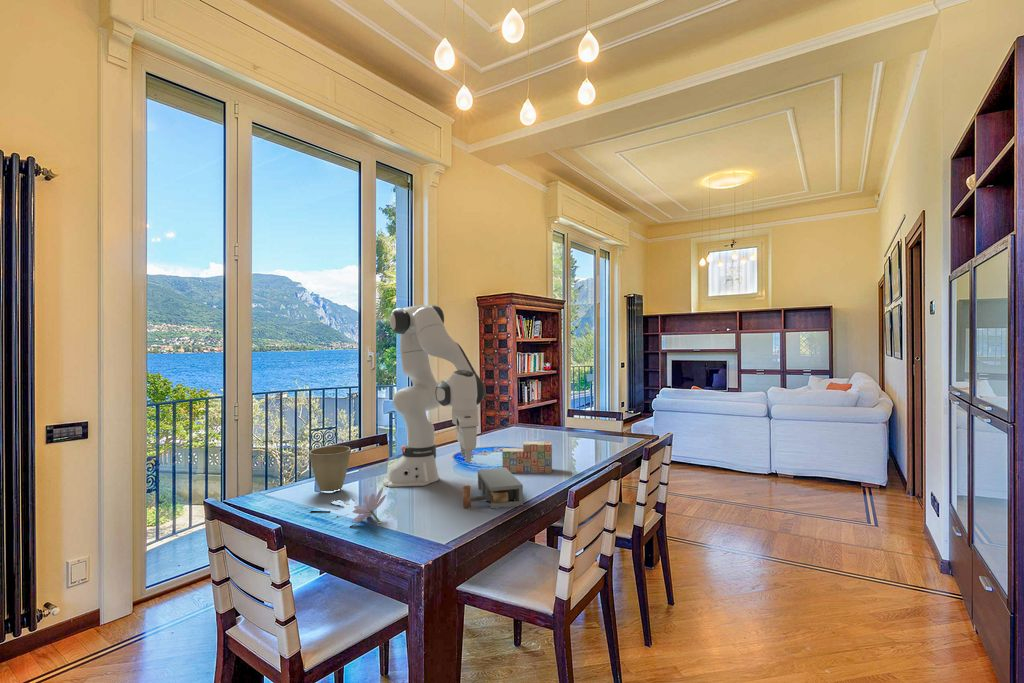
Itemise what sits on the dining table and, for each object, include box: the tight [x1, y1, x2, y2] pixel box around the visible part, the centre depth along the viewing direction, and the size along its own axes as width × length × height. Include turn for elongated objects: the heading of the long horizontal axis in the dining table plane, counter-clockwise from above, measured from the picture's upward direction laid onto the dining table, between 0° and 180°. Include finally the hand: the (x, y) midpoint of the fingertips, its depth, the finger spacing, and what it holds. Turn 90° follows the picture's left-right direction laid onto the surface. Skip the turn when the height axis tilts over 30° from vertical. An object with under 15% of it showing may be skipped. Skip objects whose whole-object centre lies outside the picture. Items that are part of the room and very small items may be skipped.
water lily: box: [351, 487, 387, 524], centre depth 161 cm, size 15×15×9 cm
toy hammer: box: [462, 485, 509, 509], centre depth 175 cm, size 15×5×7 cm, turn 104°
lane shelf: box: [477, 467, 524, 509], centre depth 185 cm, size 11×25×7 cm, turn 14°
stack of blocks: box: [501, 440, 553, 474], centre depth 220 cm, size 21×6×12 cm, turn 85°
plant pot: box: [309, 445, 351, 491], centre depth 196 cm, size 15×15×16 cm
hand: (466, 458), depth 174 cm, fingers open, 8 cm apart
